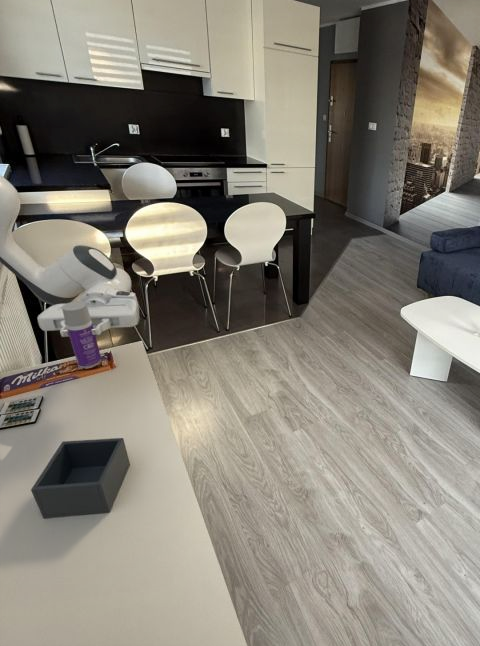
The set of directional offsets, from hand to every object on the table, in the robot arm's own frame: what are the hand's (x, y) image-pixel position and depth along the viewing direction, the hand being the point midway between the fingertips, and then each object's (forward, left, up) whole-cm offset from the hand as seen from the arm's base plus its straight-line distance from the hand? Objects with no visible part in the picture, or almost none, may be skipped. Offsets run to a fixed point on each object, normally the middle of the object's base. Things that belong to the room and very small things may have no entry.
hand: (80, 333), depth 88 cm
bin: (+6, -23, -24) cm, 33 cm away
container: (0, +1, -9) cm, 9 cm away
